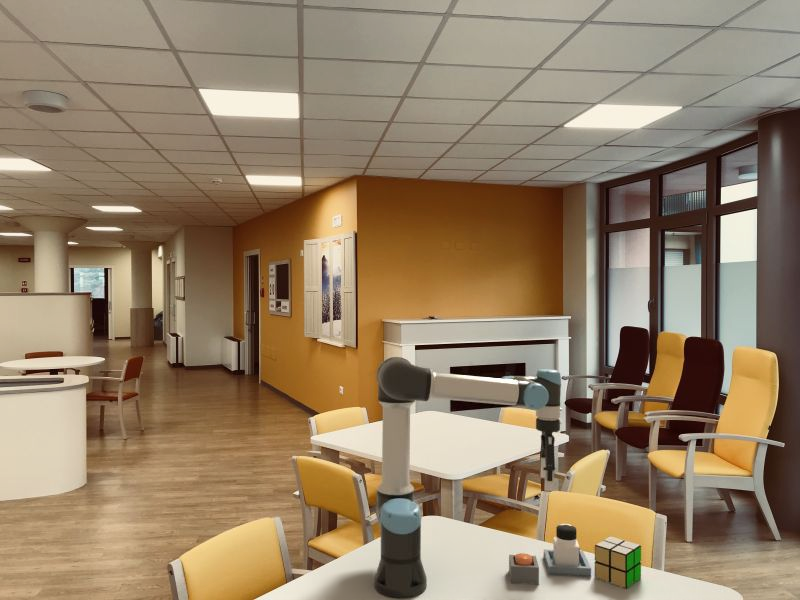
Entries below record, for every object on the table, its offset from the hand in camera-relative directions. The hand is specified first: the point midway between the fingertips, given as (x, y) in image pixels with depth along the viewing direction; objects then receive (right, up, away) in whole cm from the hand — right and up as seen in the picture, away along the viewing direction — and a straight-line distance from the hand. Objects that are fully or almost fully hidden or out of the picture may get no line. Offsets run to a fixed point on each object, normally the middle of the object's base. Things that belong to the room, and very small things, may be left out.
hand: (546, 484), depth 196 cm
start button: (-10, -20, -14) cm, 26 cm away
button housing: (-10, -24, -14) cm, 29 cm away
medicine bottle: (+5, -24, -6) cm, 25 cm away
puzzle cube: (+18, -24, -14) cm, 33 cm away
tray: (+5, -24, -6) cm, 25 cm away
